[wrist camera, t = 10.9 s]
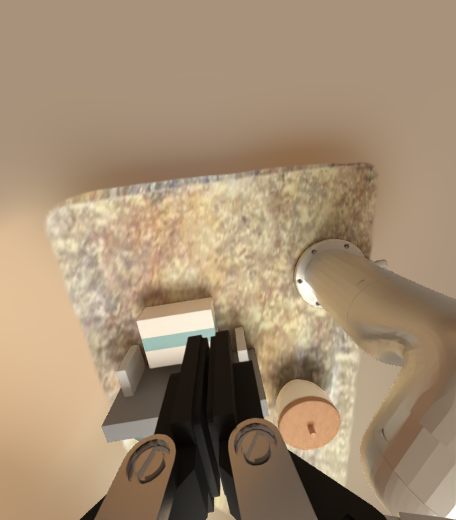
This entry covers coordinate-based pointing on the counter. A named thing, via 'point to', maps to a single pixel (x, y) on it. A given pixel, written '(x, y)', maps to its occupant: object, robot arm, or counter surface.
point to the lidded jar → (306, 415)
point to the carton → (174, 329)
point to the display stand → (155, 392)
